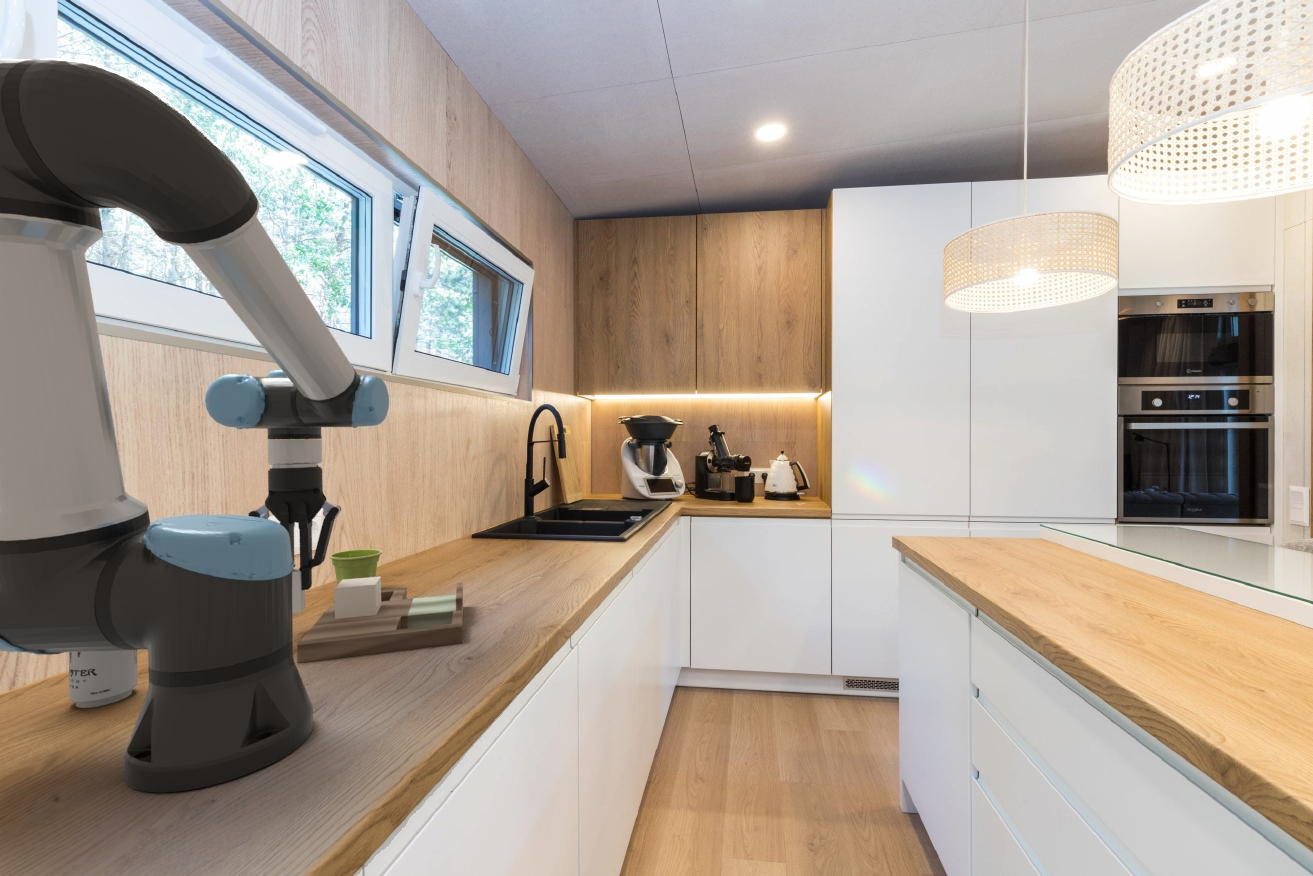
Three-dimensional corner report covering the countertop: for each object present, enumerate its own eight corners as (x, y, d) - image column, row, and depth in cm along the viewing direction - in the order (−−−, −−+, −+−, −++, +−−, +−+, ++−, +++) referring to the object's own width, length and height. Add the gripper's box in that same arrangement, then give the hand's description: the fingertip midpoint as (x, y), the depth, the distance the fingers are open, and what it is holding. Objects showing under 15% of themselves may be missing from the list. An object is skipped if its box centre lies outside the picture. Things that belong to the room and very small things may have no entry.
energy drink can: (59, 705, 68) (57, 580, 68) (122, 684, 74) (121, 569, 74) (84, 714, 66) (82, 584, 66) (148, 692, 71) (146, 572, 71)
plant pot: (374, 587, 122) (373, 547, 122) (388, 595, 115) (388, 552, 115) (325, 596, 116) (324, 553, 116) (337, 605, 109) (336, 560, 109)
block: (376, 614, 94) (375, 584, 94) (335, 619, 92) (334, 588, 92) (381, 605, 100) (380, 576, 100) (342, 608, 98) (342, 579, 98)
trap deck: (462, 642, 87) (461, 613, 87) (297, 662, 80) (297, 630, 80) (463, 594, 115) (463, 572, 115) (340, 606, 108) (340, 582, 108)
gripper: (345, 463, 99) (347, 600, 99) (257, 466, 94) (259, 608, 94) (335, 465, 91) (337, 612, 91) (239, 468, 87) (242, 621, 87)
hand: (297, 610), depth 93 cm, fingers closed
